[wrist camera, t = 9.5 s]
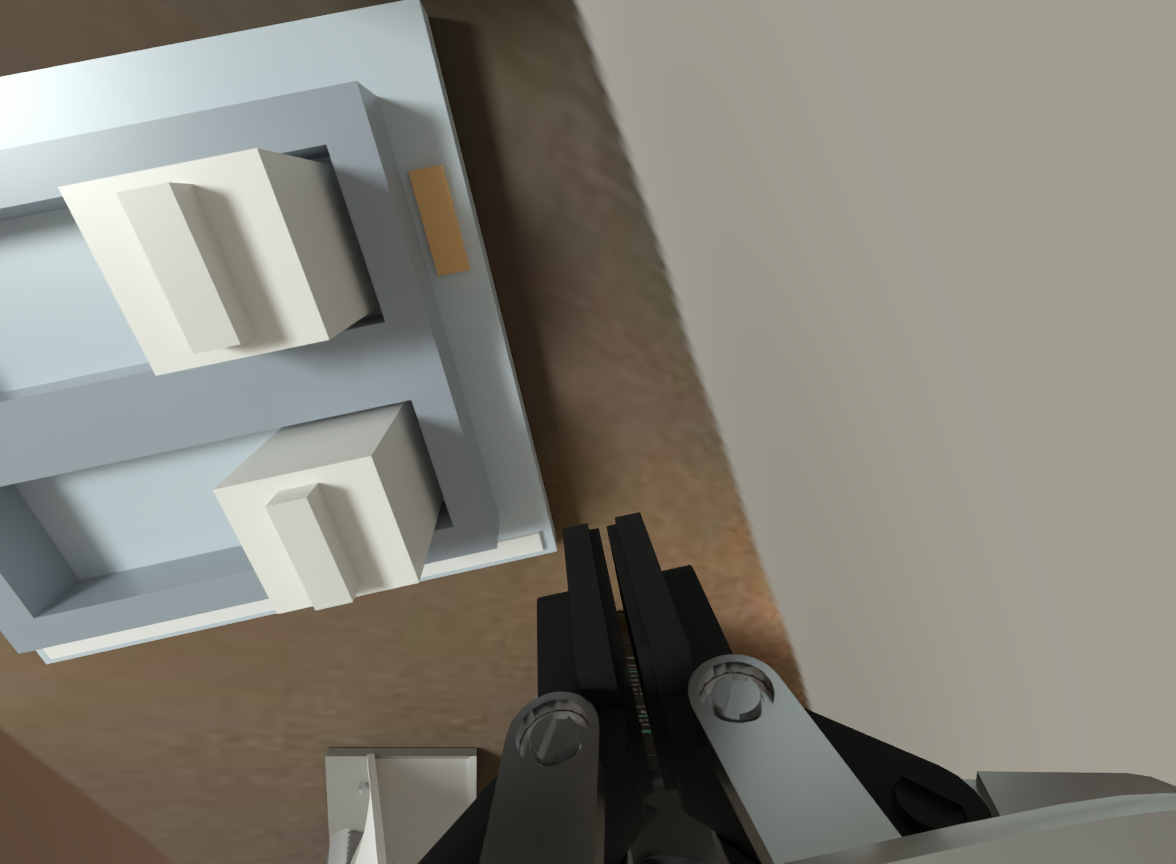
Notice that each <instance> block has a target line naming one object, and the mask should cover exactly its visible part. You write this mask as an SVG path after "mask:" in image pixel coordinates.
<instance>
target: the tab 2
mask: <svg viewBox="0 0 1176 864" xmlns="http://www.w3.org/2000/svg"><path fill="white" fill-rule="evenodd" d="M213 492H214V494H215V496H216V497H217V499H218V501H219V503H220V505H221V507H222V509H223V511H224V513H225V515H226V517H227V519H228V521H229V522H230V524H231V526H232V528H233V530H234V532H235V534H236V536H237V538H238V540H239V542H240V544H241V546H242V547H243V549H244V551H245V553H246V555H247V557H248V559H249V561H250V563H251V565H252V567H253V569H254V570H255V572H256V574H257V576H258V578H259V580H260V582H261V584H262V586H263V588H264V590H265V592H266V594H267V595H268V597H269V599H270V601H271V603H272V605H273V607H274V609H275V611H276V613H277V614H280V613H284V612H289V611H294V610H298V609H303V608H307V607H312V606H313V607H314V609H315V610H320V609H324V608H329V607H333V606H338V605H342V604H347V603H351V602H353V601H354V599H355V597H357V596H361V595H366V594H370V593H375V592H379V591H384V590H388V589H393V588H398V587H402V586H407V585H411V584H416V583H419V582H420V578H421V575H422V571H423V568H424V564H425V561H426V557H427V553H428V550H429V546H430V543H431V539H432V536H433V532H434V529H435V525H436V521H437V518H438V514H439V511H440V507H441V504H442V500H443V494H442V491H441V488H440V485H439V482H438V479H437V476H436V473H435V470H434V467H433V464H432V461H431V458H430V455H429V452H428V449H427V446H426V443H425V440H424V437H423V434H422V431H421V428H420V425H419V422H418V419H417V416H416V413H415V410H414V407H413V404H412V401H411V400H408V401H404V402H399V403H394V404H390V405H385V406H380V407H375V408H371V409H366V410H361V411H356V412H352V413H347V414H342V415H338V416H333V417H328V418H323V419H319V420H314V421H309V422H304V423H300V424H295V425H290V426H286V427H282V428H281V429H280V430H278V431H277V432H276V433H275V434H274V435H273V436H272V437H271V438H270V439H268V440H267V441H266V442H265V443H264V444H263V445H262V446H261V447H260V448H258V449H257V450H256V451H255V452H254V453H253V454H252V455H251V456H250V457H248V458H247V459H246V460H245V461H244V462H243V463H242V464H241V465H240V466H238V467H237V468H236V469H235V470H234V471H233V472H232V473H231V474H230V475H228V476H227V477H226V478H225V479H224V480H223V481H222V482H221V483H220V484H218V485H217V486H216V487H215V488H214V489H213Z"/></svg>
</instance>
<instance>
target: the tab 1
mask: <svg viewBox="0 0 1176 864" xmlns="http://www.w3.org/2000/svg"><path fill="white" fill-rule="evenodd" d="M58 189H59V191H60V192H61V194H62V196H63V198H64V200H65V202H66V204H67V206H68V208H69V210H70V212H71V214H72V216H73V218H74V219H75V221H76V223H77V225H78V227H79V229H80V231H81V233H82V235H83V237H84V239H85V241H86V243H87V245H88V246H89V248H90V250H91V252H92V254H93V256H94V258H95V260H96V262H97V264H98V266H99V268H100V270H101V271H102V273H103V275H104V277H105V279H106V281H107V283H108V285H109V287H110V289H111V291H112V293H113V295H114V297H115V298H116V300H117V302H118V304H119V306H120V308H121V310H122V312H123V314H124V316H125V318H126V320H127V322H128V324H129V325H130V327H131V329H132V331H133V333H134V335H135V337H136V339H137V341H138V343H139V345H140V347H141V349H142V351H143V352H144V354H145V356H146V358H147V360H148V362H149V364H150V366H151V368H152V370H153V372H154V374H155V376H158V375H163V374H167V373H172V372H177V371H182V370H187V369H192V368H196V367H201V366H206V365H211V364H216V363H221V362H225V361H230V360H235V359H240V358H245V357H249V356H254V355H259V354H264V353H269V352H274V351H278V350H283V349H288V348H293V347H298V346H302V345H307V344H312V343H317V342H322V341H327V340H330V339H332V338H333V337H335V336H336V335H338V334H339V333H340V332H342V331H343V330H345V329H346V328H348V327H349V326H351V325H352V324H354V323H355V322H357V321H358V320H360V319H361V318H363V317H364V316H366V315H367V314H369V313H370V312H372V311H373V310H375V309H376V308H378V307H379V306H380V305H379V302H378V299H377V296H376V293H375V290H374V287H373V284H372V281H371V278H370V275H369V272H368V269H367V266H366V262H365V259H364V256H363V253H362V250H361V247H360V244H359V241H358V238H357V235H356V232H355V229H354V226H353V223H352V220H351V217H350V214H349V211H348V208H347V205H346V202H345V199H344V196H343V193H342V190H341V187H340V184H339V181H338V178H337V175H336V172H335V169H334V166H333V165H329V164H325V163H321V162H316V161H312V160H307V159H303V158H299V157H294V156H290V155H286V154H281V153H277V152H273V151H268V150H264V149H259V148H254V149H249V150H244V151H239V152H234V153H229V154H223V155H218V156H213V157H208V158H203V159H198V160H193V161H188V162H183V163H178V164H173V165H167V166H162V167H157V168H152V169H147V170H142V171H137V172H132V173H127V174H122V175H117V176H112V177H106V178H101V179H96V180H91V181H86V182H81V183H76V184H71V185H66V186H61V187H58Z"/></svg>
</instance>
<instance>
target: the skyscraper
mask: <svg viewBox="0 0 1176 864" xmlns="http://www.w3.org/2000/svg"><path fill="white" fill-rule="evenodd" d="M476 753H477V748H328V750H327V753H326V756H325V762H326V782H327V803H328V823H329V843H330V846H329V851H328V855H327V859H326V862H325V864H418V863H419V861H420V860H421V859H422V858H423V857H424V856H425V855H426V854H427V853H428V851H429V850H430V849H431V848H432V847H433V846H434V845H435V844H436V843H437V841H438V840H439V839H440V838H441V837H442V836H443V835H444V834H445V833H446V831H447V830H448V829H449V828H450V827H451V826H452V825H453V824H454V823H455V821H456V820H457V819H458V818H459V817H460V816H461V815H462V814H463V813H464V811H465V810H466V809H467V808H468V807H469V806H470V805H471V804H472V803H473V801H474V800H475V799H476V798H477V756H476Z"/></svg>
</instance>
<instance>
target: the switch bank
mask: <svg viewBox="0 0 1176 864" xmlns="http://www.w3.org/2000/svg"><path fill="white" fill-rule="evenodd" d="M254 148H259V149H264V150H268V151H273V152H277V153H281V154H286V155H290V156H294V157H299V158H303V159H307V160H312V161H316V162H321V163H325V164H329V165H333V166H334V169H335V172H336V175H337V178H338V181H339V184H340V187H341V190H342V193H343V196H344V199H345V202H346V205H347V208H348V211H349V214H350V217H351V220H352V223H353V226H354V229H355V232H356V235H357V238H358V241H359V244H360V247H361V250H362V253H363V256H364V259H365V262H366V266H367V269H368V272H369V275H370V278H371V281H372V284H373V287H374V290H375V293H376V296H377V299H378V302H379V305H380V306H379V307H378V308H376V309H375V310H373V311H372V312H370V313H369V314H367V315H366V316H364V317H363V318H361V319H360V320H358V321H357V322H355V323H354V324H352V325H351V326H349V327H348V328H346V329H345V330H343V331H342V332H340V333H339V334H338V335H336V336H335V337H333V338H332V339H330V340H327V341H322V342H317V343H312V344H307V345H302V346H298V347H293V348H288V349H283V350H278V351H274V352H269V353H264V354H259V355H254V356H249V357H245V358H240V359H235V360H230V361H225V362H221V363H216V364H211V365H206V366H201V367H196V368H192V369H187V370H182V371H177V372H172V373H167V374H163V375H158V376H155V374H154V372H153V370H152V368H151V366H150V364H149V362H148V360H147V358H146V356H145V354H144V352H143V351H142V349H141V347H140V345H139V343H138V341H137V339H136V337H135V335H134V333H133V331H132V329H131V327H130V325H129V324H128V322H127V320H126V318H125V316H124V314H123V312H122V310H121V308H120V306H119V304H118V302H117V300H116V298H115V297H114V295H113V293H112V291H111V289H110V287H109V285H108V283H107V281H106V279H105V277H104V275H103V273H102V271H101V270H100V268H99V266H98V264H97V262H96V260H95V258H94V256H93V254H92V252H91V250H90V248H89V246H88V245H87V243H86V241H85V239H84V237H83V235H82V233H81V231H80V229H79V227H78V225H77V223H76V221H75V219H74V218H73V216H72V214H71V212H70V210H69V208H68V206H67V204H66V202H65V200H64V198H63V196H62V194H61V192H60V191H59V189H58V187H61V186H66V185H71V184H76V183H81V182H86V181H91V180H96V179H101V178H106V177H112V176H117V175H122V174H127V173H132V172H137V171H142V170H147V169H152V168H157V167H162V166H167V165H173V164H178V163H183V162H188V161H193V160H198V159H203V158H208V157H213V156H218V155H223V154H229V153H234V152H239V151H244V150H249V149H254ZM408 400H411V401H412V404H413V407H414V410H415V413H416V416H417V419H418V422H419V425H420V428H421V431H422V434H423V437H424V440H425V443H426V446H427V449H428V452H429V455H430V458H431V461H432V464H433V467H434V470H435V473H436V476H437V479H438V482H439V485H440V488H441V491H442V494H443V500H442V504H441V507H440V511H439V514H438V518H437V521H436V525H435V529H434V532H433V536H432V539H431V543H430V546H429V550H428V553H427V557H426V561H425V564H424V568H423V571H422V575H421V578H420V581H425V580H429V579H434V578H438V577H443V576H447V575H452V574H456V573H461V572H465V571H470V570H474V569H479V568H484V567H488V566H493V565H497V564H502V563H506V562H511V561H515V560H520V559H524V558H529V557H533V556H538V555H542V554H547V553H551V552H556V551H557V545H556V534H555V528H554V524H553V520H552V516H551V512H550V508H549V504H548V500H547V496H546V492H545V488H544V484H543V480H542V475H541V471H540V467H539V463H538V459H537V455H536V451H535V447H534V443H533V439H532V435H531V431H530V427H529V423H528V419H527V415H526V411H525V407H524V403H523V399H522V395H521V391H520V387H519V383H518V379H517V375H516V370H515V366H514V362H513V358H512V354H511V350H510V346H509V342H508V338H507V334H506V330H505V326H504V322H503V318H502V314H501V310H500V306H499V302H498V298H497V294H496V290H495V286H494V282H493V278H492V274H491V269H490V265H489V261H488V257H487V253H486V249H485V245H484V241H483V237H482V233H481V229H480V225H479V221H478V217H477V213H476V209H475V205H474V201H473V197H472V193H471V189H470V185H469V181H468V177H467V173H466V168H465V164H464V160H463V156H462V152H461V148H460V144H459V140H458V136H457V132H456V128H455V124H454V120H453V116H452V112H451V108H450V104H449V100H448V96H447V92H446V88H445V84H444V80H443V76H442V72H441V67H440V63H439V59H438V55H437V51H436V47H435V43H434V39H433V35H432V31H431V27H430V23H429V19H428V15H427V13H426V11H425V9H424V7H423V5H422V3H421V1H420V0H402V1H397V2H392V3H387V4H381V5H376V6H371V7H366V8H360V9H355V10H350V11H345V12H339V13H334V14H329V15H324V16H318V17H313V18H308V19H303V20H297V21H292V22H287V23H282V24H276V25H271V26H266V27H260V28H255V29H250V30H245V31H239V32H234V33H229V34H224V35H218V36H213V37H208V38H203V39H197V40H192V41H187V42H182V43H176V44H171V45H166V46H161V47H155V48H150V49H145V50H140V51H134V52H129V53H124V54H119V55H113V56H108V57H103V58H98V59H92V60H87V61H82V62H77V63H71V64H66V65H61V66H56V67H50V68H45V69H40V70H35V71H29V72H24V73H19V74H14V75H8V76H3V77H0V631H1V632H2V633H3V635H4V636H5V637H6V638H7V640H8V641H9V642H10V643H11V645H12V646H13V647H14V649H15V650H16V651H17V652H18V654H20V653H25V652H29V651H34V650H36V651H37V653H38V654H39V655H40V657H41V658H42V659H43V661H44V662H45V663H46V664H49V663H54V662H58V661H63V660H67V659H72V658H76V657H81V656H86V655H90V654H95V653H99V652H104V651H108V650H113V649H117V648H122V647H126V646H131V645H135V644H140V643H144V642H149V641H153V640H158V639H162V638H167V637H171V636H176V635H181V634H185V633H190V632H194V631H199V630H203V629H208V628H212V627H217V626H221V625H226V624H230V623H235V622H239V621H244V620H248V619H253V618H257V617H262V616H266V615H271V614H275V613H276V611H275V609H274V607H273V605H272V603H271V601H270V599H269V597H268V595H267V594H266V592H265V590H264V588H263V586H262V584H261V582H260V580H259V578H258V576H257V574H256V572H255V570H254V569H253V567H252V565H251V563H250V561H249V559H248V557H247V555H246V553H245V551H244V549H243V547H242V546H241V544H240V542H239V540H238V538H237V536H236V534H235V532H234V530H233V528H232V526H231V524H230V522H229V521H228V519H227V517H226V515H225V513H224V511H223V509H222V507H221V505H220V503H219V501H218V499H217V497H216V496H215V494H214V492H213V489H214V488H215V487H216V486H217V485H218V484H220V483H221V482H222V481H223V480H224V479H225V478H226V477H227V476H228V475H230V474H231V473H232V472H233V471H234V470H235V469H236V468H237V467H238V466H240V465H241V464H242V463H243V462H244V461H245V460H246V459H247V458H248V457H250V456H251V455H252V454H253V453H254V452H255V451H256V450H257V449H258V448H260V447H261V446H262V445H263V444H264V443H265V442H266V441H267V440H268V439H270V438H271V437H272V436H273V435H274V434H275V433H276V432H277V431H278V430H280V429H281V428H282V427H286V426H290V425H295V424H300V423H304V422H309V421H314V420H319V419H323V418H328V417H333V416H338V415H342V414H347V413H352V412H356V411H361V410H366V409H371V408H375V407H380V406H385V405H390V404H394V403H399V402H404V401H408Z"/></svg>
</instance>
